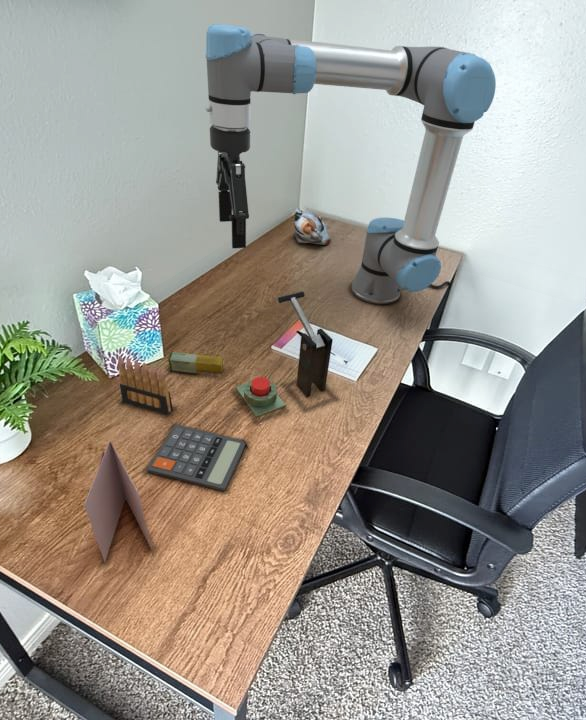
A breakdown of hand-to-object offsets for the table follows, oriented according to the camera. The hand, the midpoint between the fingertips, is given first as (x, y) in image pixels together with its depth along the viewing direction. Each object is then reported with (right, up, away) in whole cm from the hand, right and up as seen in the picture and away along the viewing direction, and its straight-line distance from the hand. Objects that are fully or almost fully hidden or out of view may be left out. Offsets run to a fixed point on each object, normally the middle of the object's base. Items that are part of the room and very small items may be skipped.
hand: (232, 233), depth 100 cm
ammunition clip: (-17, -37, -3) cm, 41 cm away
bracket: (+17, -35, +6) cm, 39 cm away
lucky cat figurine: (+16, +16, +69) cm, 72 cm away
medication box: (-9, -30, +7) cm, 32 cm away
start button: (+6, -34, -1) cm, 34 cm away
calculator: (-4, -46, -12) cm, 48 cm away
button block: (+6, -37, +2) cm, 37 cm away
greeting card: (-12, -55, -24) cm, 61 cm away
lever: (+15, -20, 0) cm, 25 cm away
